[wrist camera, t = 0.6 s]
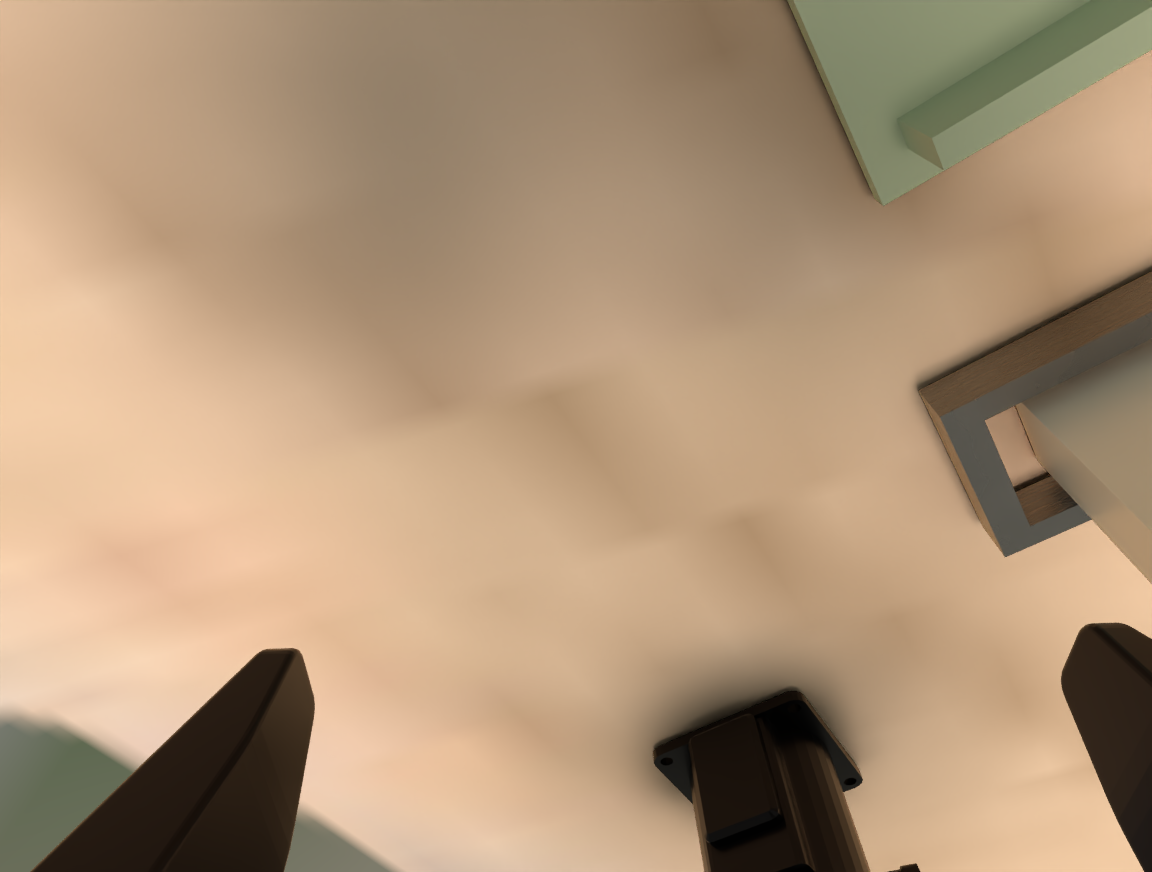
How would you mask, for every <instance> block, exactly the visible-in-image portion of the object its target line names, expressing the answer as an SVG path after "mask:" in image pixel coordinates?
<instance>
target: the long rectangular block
mask: <svg viewBox="0 0 1152 872" xmlns="http://www.w3.org/2000/svg"><path fill="white" fill-rule="evenodd" d="M1016 408H1017V410H1018V413H1019V415H1020V418H1021V420H1022V423H1023V425H1024V428H1025V430H1026V433H1027V435H1028V438H1029V440H1030V443H1031V445H1032V448H1033V450H1034V453H1035V455H1036V458H1037V460H1038V462H1039V463H1040V464H1041V465H1042V466H1043V467H1044V468H1045V469H1046V470H1047V472H1048V473H1049V474H1050V475H1051V476H1052V477H1053V478H1054V479H1055V480H1056V481H1057V482H1058V483H1059V485H1060V486H1061V487H1062V488H1063V489H1064V490H1065V491H1066V492H1067V493H1068V494H1069V495H1070V496H1071V497H1072V499H1073V500H1074V501H1075V502H1076V503H1077V504H1078V505H1079V506H1080V507H1081V508H1082V509H1083V510H1084V512H1085V513H1086V514H1087V515H1088V516H1089V517H1090V518H1091V519H1092V520H1093V521H1094V522H1095V523H1096V524H1097V526H1098V527H1099V528H1100V529H1101V530H1102V531H1103V532H1104V533H1105V534H1106V535H1107V536H1108V537H1109V538H1110V540H1111V541H1112V542H1113V543H1114V544H1115V545H1116V546H1117V547H1118V548H1119V549H1120V550H1121V551H1122V553H1123V554H1124V555H1125V556H1126V557H1127V558H1128V559H1129V560H1130V561H1131V562H1132V563H1133V564H1134V565H1135V567H1136V568H1137V569H1138V570H1139V571H1140V572H1141V573H1142V574H1143V575H1144V576H1145V577H1146V578H1147V580H1148V581H1149V582H1150V583H1151V584H1152V339H1150V340H1148V341H1146V342H1144V343H1142V344H1140V345H1138V346H1136V347H1134V348H1132V349H1130V350H1128V351H1126V352H1124V353H1121V354H1119V355H1117V356H1115V357H1113V358H1111V359H1109V360H1107V361H1105V362H1103V363H1101V364H1099V365H1097V366H1095V367H1093V368H1091V369H1089V370H1087V371H1085V372H1083V373H1080V374H1078V375H1076V376H1074V377H1072V378H1070V379H1068V380H1066V381H1064V382H1062V383H1060V384H1058V385H1056V386H1054V387H1052V388H1050V389H1048V390H1046V391H1044V392H1042V393H1040V394H1037V395H1035V396H1033V397H1031V398H1029V399H1027V400H1025V401H1023V402H1021V403H1019V404H1017V405H1016Z"/></svg>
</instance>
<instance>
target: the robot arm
mask: <svg viewBox="0 0 1152 872" xmlns="http://www.w3.org/2000/svg"><path fill="white" fill-rule="evenodd" d="M1061 685H1062V690H1063V693H1064V696H1065V699H1066V701H1067V703H1068V706H1069V708H1070V711H1071V713H1072V715H1073V718H1074V720H1075V723H1076V725H1077V727H1078V730H1079V732H1080V734H1081V737H1082V739H1083V742H1084V744H1085V746H1086V749H1087V751H1088V754H1089V756H1090V758H1091V761H1092V763H1093V765H1094V768H1095V770H1096V773H1097V775H1098V777H1099V780H1100V782H1101V785H1102V787H1103V789H1104V792H1105V794H1106V796H1107V799H1108V801H1109V803H1110V805H1111V808H1112V810H1113V812H1114V814H1115V816H1116V819H1117V821H1118V823H1119V825H1120V827H1121V829H1122V831H1123V833H1124V834H1125V836H1126V838H1127V840H1128V842H1129V844H1130V846H1131V848H1132V850H1133V852H1134V853H1135V855H1136V857H1137V859H1138V861H1139V863H1140V865H1141V866H1142V868H1143V870H1144V872H1152V639H1151V638H1149V637H1147V636H1146V635H1144V634H1142V633H1141V632H1139V631H1137V630H1136V629H1134V628H1132V627H1130V626H1128V625H1126V624H1122V623H1093V624H1087V625H1085V626H1084V627H1083V628H1082V629H1081V630H1080V631H1079V633H1078V635H1077V638H1076V640H1075V642H1074V645H1073V647H1072V649H1071V652H1070V654H1069V656H1068V659H1067V661H1066V663H1065V666H1064V668H1063V671H1062V675H1061ZM314 711H315V702H314V695H313V691H312V688H311V684H310V681H309V677H308V674H307V670H306V666H305V663H304V659H303V656H302V654H301V653H300V651H299V650H297V649H294V648H285V649H265V650H262V651H261V652H259V653H258V654H256V655H255V656H254V657H253V658H252V659H251V660H250V661H249V662H248V663H247V664H246V665H245V666H244V667H243V668H242V669H241V670H240V671H239V672H238V673H236V674H235V675H234V676H233V677H232V678H231V679H230V680H229V681H228V682H227V683H226V684H225V685H224V686H223V687H222V688H221V689H220V690H219V691H218V692H217V693H216V694H215V695H214V696H213V697H211V698H210V699H209V700H208V701H207V702H206V703H205V704H204V705H203V706H202V707H201V708H200V709H199V710H198V711H197V712H196V713H195V714H194V715H193V716H192V717H191V718H190V719H189V720H188V721H187V722H185V723H184V724H183V725H182V726H181V727H180V728H179V729H178V730H177V731H176V732H175V733H174V734H173V735H172V736H171V737H170V738H169V739H168V740H167V741H166V742H165V743H164V744H163V745H162V746H161V747H159V748H158V749H157V750H156V751H155V752H154V753H153V754H152V755H151V756H150V757H149V758H148V759H147V760H146V761H145V762H144V763H143V764H142V765H141V766H140V767H139V768H138V769H137V770H136V771H135V772H133V773H132V774H131V775H130V776H129V777H128V778H127V779H126V780H125V781H124V782H123V783H122V784H121V785H120V786H119V787H118V788H117V789H116V790H115V791H114V792H113V793H112V794H111V795H110V796H108V797H107V798H106V799H105V800H104V801H103V802H102V803H101V804H100V805H99V806H98V807H97V808H96V809H95V810H94V811H93V812H92V813H91V814H90V815H89V816H88V817H87V818H86V819H85V820H84V821H82V822H81V823H80V824H79V825H78V826H77V827H76V828H75V829H74V830H73V831H72V832H71V833H70V834H69V835H68V836H67V837H66V838H65V839H64V840H63V841H62V842H61V843H60V844H59V845H57V846H56V847H55V848H54V849H53V850H52V851H51V852H50V853H49V854H48V855H47V856H46V857H45V858H44V859H43V860H42V861H41V862H40V863H39V864H38V865H37V866H36V867H35V868H34V869H33V870H31V871H30V872H284V870H285V866H286V862H287V858H288V854H289V850H290V846H291V841H292V836H293V831H294V826H295V821H296V815H297V810H298V804H299V798H300V793H301V787H302V782H303V776H304V770H305V765H306V759H307V754H308V748H309V742H310V737H311V731H312V726H313V720H314ZM653 758H654V764H655V766H656V767H657V768H658V769H659V770H660V771H661V772H662V773H663V774H664V775H665V776H666V777H667V778H668V779H669V780H670V781H671V782H672V783H673V784H674V785H675V786H676V787H677V788H678V789H679V790H680V791H681V792H682V793H683V794H684V795H685V796H686V797H687V799H688V800H689V801H690V802H691V803H692V804H693V806H694V812H695V818H696V824H697V830H698V836H699V842H700V848H701V854H702V860H703V866H704V872H870V869H869V866H868V863H867V860H866V857H865V854H864V851H863V848H862V845H861V843H860V840H859V837H858V834H857V831H856V828H855V825H854V822H853V819H852V816H851V813H850V810H849V808H848V805H847V802H846V799H845V796H844V793H843V792H845V791H848V790H850V789H853V788H855V787H857V786H859V785H860V784H861V783H862V780H863V779H862V777H861V774H860V771H859V768H858V767H857V766H856V764H855V763H854V762H853V760H852V759H851V758H850V756H849V755H848V754H847V752H846V751H845V750H844V748H843V747H842V746H841V744H840V743H839V742H838V740H837V739H836V738H835V736H834V735H833V734H832V732H831V731H830V730H829V728H828V727H827V726H826V724H825V723H824V722H823V720H822V719H821V718H820V716H819V715H818V714H817V712H816V711H815V710H814V708H813V707H812V706H811V704H810V703H809V702H808V700H807V699H806V698H805V696H804V695H803V694H802V693H800V692H797V691H790V692H786V693H784V694H781V695H779V696H777V697H774V698H772V699H770V700H767V701H765V702H763V703H760V704H758V705H755V706H753V707H751V708H748V709H746V710H744V711H741V712H739V713H737V714H734V715H732V716H729V717H727V718H725V719H722V720H720V721H718V722H715V723H713V724H710V725H708V726H706V727H703V728H701V729H699V730H696V731H694V732H692V733H689V734H687V735H684V736H682V737H680V738H677V739H675V740H673V741H670V742H668V743H665V744H663V745H661V746H659V747H657V748H655V750H654V751H653ZM889 872H920V870H919V868H918V866H917V864H916V863H915V864H909V865H904V866H900V869H899V870H894V871H889Z"/></svg>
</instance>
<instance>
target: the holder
mask: <svg viewBox="0 0 1152 872" xmlns="http://www.w3.org/2000/svg"><path fill="white" fill-rule="evenodd" d="M787 1H788V3H789V5H790V8H791V10H792V12H793V14H794V17H795V19H796V21H797V24H798V26H799V28H800V30H801V33H802V35H803V37H804V39H805V42H806V44H807V46H808V49H809V51H810V53H811V55H812V58H813V60H814V62H815V64H816V67H817V69H818V71H819V73H820V76H821V78H822V80H823V83H824V85H825V87H826V89H827V92H828V94H829V96H830V98H831V101H832V103H833V105H834V108H835V110H836V112H837V114H838V117H839V119H840V121H841V123H842V126H843V128H844V130H845V132H846V135H847V137H848V139H849V142H850V144H851V146H852V148H853V151H854V153H855V155H856V157H857V160H858V162H859V164H860V167H861V169H862V171H863V173H864V176H865V178H866V180H867V182H868V185H869V187H870V189H871V192H872V194H873V196H874V198H875V200H876V201H878V202H879V203H880V204H881V205H883V206H885V205H886V204H888V203H890V202H891V201H893V200H895V199H897V198H898V197H900V196H902V195H903V194H905V193H907V192H909V191H910V190H912V189H914V188H915V187H917V186H919V185H920V184H922V183H924V182H926V181H927V180H929V179H931V178H932V177H934V176H936V175H938V174H939V173H941V172H943V171H945V170H946V169H948V168H950V167H952V166H953V165H955V164H957V163H958V162H960V161H962V160H964V159H965V158H967V157H969V156H970V155H972V154H974V153H976V152H977V151H979V150H981V149H982V148H984V147H986V146H988V145H989V144H991V143H993V142H994V141H996V140H998V139H1000V138H1001V137H1003V136H1005V135H1006V134H1008V133H1010V132H1012V131H1013V130H1015V129H1017V128H1018V127H1020V126H1022V125H1024V124H1025V123H1027V122H1029V121H1030V120H1032V119H1034V118H1036V117H1037V116H1039V115H1041V114H1042V113H1044V112H1046V111H1048V110H1049V109H1051V108H1053V107H1054V106H1056V105H1058V104H1060V103H1061V102H1063V101H1065V100H1066V99H1068V98H1070V97H1072V96H1073V95H1075V94H1077V93H1078V92H1080V91H1082V90H1084V89H1085V88H1087V87H1089V86H1090V85H1092V84H1094V83H1096V82H1097V81H1099V80H1101V79H1102V78H1104V77H1106V76H1108V75H1109V74H1111V73H1113V72H1114V71H1116V70H1118V69H1120V68H1121V67H1123V66H1125V65H1126V64H1128V63H1130V62H1132V61H1133V60H1135V59H1137V58H1138V57H1140V56H1142V55H1144V54H1145V53H1147V52H1149V51H1150V50H1152V0H787Z"/></svg>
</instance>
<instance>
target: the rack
mask: <svg viewBox="0 0 1152 872" xmlns="http://www.w3.org/2000/svg"><path fill="white" fill-rule="evenodd" d="M1150 339H1152V271H1151V272H1149V273H1147V274H1145V275H1143V276H1141V277H1139V278H1138V279H1136V280H1134V281H1132V282H1130V283H1128V284H1126V285H1124V286H1122V287H1120V288H1118V289H1116V290H1114V291H1112V292H1110V293H1108V294H1106V295H1104V296H1102V297H1100V298H1098V299H1096V300H1094V301H1092V302H1091V303H1089V304H1087V305H1085V306H1083V307H1081V308H1079V309H1077V310H1075V311H1073V312H1071V313H1069V314H1067V315H1065V316H1063V317H1061V318H1059V319H1057V320H1055V321H1053V322H1051V323H1049V324H1047V325H1045V326H1043V327H1042V328H1040V329H1038V330H1036V331H1034V332H1032V333H1030V334H1028V335H1026V336H1024V337H1022V338H1020V339H1018V340H1016V341H1014V342H1012V343H1010V344H1008V345H1006V346H1004V347H1002V348H1000V349H998V350H996V351H995V352H993V353H991V354H989V355H987V356H985V357H983V358H981V359H979V360H977V361H975V362H973V363H971V364H969V365H967V366H965V367H963V368H961V369H959V370H957V371H955V372H953V373H951V374H949V375H947V376H946V377H944V378H942V379H940V380H938V381H936V382H934V383H932V384H930V385H928V386H926V387H924V388H922V389H920V390H918V391H919V393H920V395H921V397H922V399H923V402H924V404H925V406H926V408H927V410H928V412H929V414H930V416H931V418H932V421H933V423H934V425H935V427H936V429H937V431H938V433H939V435H940V437H941V440H942V442H943V444H944V446H945V448H946V450H947V452H948V454H949V456H950V459H951V461H952V463H953V465H954V467H955V469H956V471H957V473H958V475H959V478H960V480H961V482H962V484H963V486H964V488H965V490H966V492H967V494H968V497H969V499H970V501H971V503H972V505H973V507H974V509H975V511H976V513H977V516H978V518H979V520H980V522H981V524H982V526H983V528H984V529H985V530H986V532H987V533H988V535H989V536H990V537H991V539H992V540H993V541H994V543H995V544H996V545H997V547H998V548H999V550H1000V551H1001V552H1002V554H1003V555H1004V556H1005V557H1007V556H1009V555H1012V554H1014V553H1016V552H1018V551H1021V550H1023V549H1025V548H1028V547H1030V546H1032V545H1034V544H1037V543H1039V542H1041V541H1044V540H1046V539H1048V538H1050V537H1053V536H1055V535H1057V534H1060V533H1062V532H1064V531H1066V530H1069V529H1071V528H1073V527H1076V526H1078V525H1080V524H1082V523H1085V522H1087V521H1089V520H1092V519H1091V518H1090V517H1089V516H1088V515H1087V514H1086V513H1085V512H1084V510H1083V509H1082V508H1081V507H1080V506H1079V505H1078V504H1077V503H1076V502H1075V501H1074V500H1073V499H1072V497H1071V496H1070V495H1069V494H1068V493H1067V492H1066V491H1065V490H1064V489H1063V488H1062V487H1061V486H1060V485H1059V483H1058V482H1057V481H1056V480H1055V479H1054V478H1053V477H1052V476H1049V477H1047V478H1045V479H1043V480H1041V481H1038V482H1036V483H1034V484H1032V485H1030V486H1028V487H1025V488H1023V489H1021V490H1019V491H1017V492H1015V490H1014V488H1013V486H1012V483H1011V481H1010V479H1009V476H1008V474H1007V472H1006V469H1005V467H1004V465H1003V462H1002V460H1001V458H1000V455H999V453H998V451H997V448H996V446H995V444H994V441H993V439H992V437H991V434H990V432H989V430H988V428H987V425H986V423H985V421H984V420H986V419H988V418H990V417H992V416H994V415H996V414H999V413H1001V412H1003V411H1005V410H1007V409H1009V408H1011V407H1013V406H1015V405H1017V404H1019V403H1021V402H1023V401H1025V400H1027V399H1029V398H1031V397H1033V396H1035V395H1037V394H1040V393H1042V392H1044V391H1046V390H1048V389H1050V388H1052V387H1054V386H1056V385H1058V384H1060V383H1062V382H1064V381H1066V380H1068V379H1070V378H1072V377H1074V376H1076V375H1078V374H1080V373H1083V372H1085V371H1087V370H1089V369H1091V368H1093V367H1095V366H1097V365H1099V364H1101V363H1103V362H1105V361H1107V360H1109V359H1111V358H1113V357H1115V356H1117V355H1119V354H1121V353H1124V352H1126V351H1128V350H1130V349H1132V348H1134V347H1136V346H1138V345H1140V344H1142V343H1144V342H1146V341H1148V340H1150Z"/></svg>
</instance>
